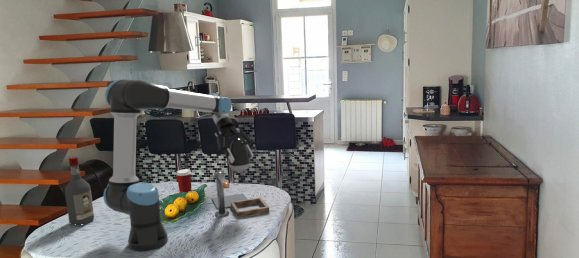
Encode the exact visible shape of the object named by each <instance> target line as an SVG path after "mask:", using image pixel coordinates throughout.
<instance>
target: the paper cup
mask: <svg viewBox="0 0 579 258" xmlns="http://www.w3.org/2000/svg"><path fill="white" fill-rule="evenodd" d="M175 175H176V179H177V185H178V191H179V194H180V193H182V192H188V191H191V192H192V171H191V169H187V168H185V169H180V170H177V171H176V174H175Z"/></svg>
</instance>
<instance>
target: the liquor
mask: <svg viewBox="0 0 579 258" xmlns="http://www.w3.org/2000/svg"><path fill="white" fill-rule="evenodd" d="M68 162H69V168H70V176H71V178H70V181H69V182H68V183H67V185H66V186H65V188H64V196H65V202H66V209H67V216H68V223H69V224H70V223H71V224H70V225H72V224H76V225H75V226H77V225H80V226H82V225H81V224H85V225H87V224H89V223H92V222H94V219H95V212H94V206H93V205H94V204H93V197H92V191H91V185H90V183H88V182H87V181H86V180H84V179H83V178H82V176H81V173H80V166H79V164H80V163H79V158H78V156H74V157H73V156H72V157H69V158H68ZM91 221H92V222H91ZM88 222H89V223H88ZM86 223H87V224H86Z"/></svg>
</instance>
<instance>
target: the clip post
mask: <svg viewBox="0 0 579 258" xmlns="http://www.w3.org/2000/svg"><path fill="white" fill-rule="evenodd" d="M215 183H216V185H215V186H216V192H217V193H216V195H217V196H216V197H218V210H217V211H215V212H214V215H215V217H217V216H218V218H222V217H227V216H229V215H230V211H229V210H227V209H226V208H225V201H224V196H225V192H224V191H225V190H224V189H225V188H223V185H222V183H221V182H220V180H219V179H218V177H215Z"/></svg>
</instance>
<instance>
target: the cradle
mask: <svg viewBox="0 0 579 258" xmlns="http://www.w3.org/2000/svg"><path fill="white" fill-rule="evenodd" d="M257 204H258V205H260V206H261V207H257V208H251V209H245V210H239V207H247V206H251V205H253V206H254V205H257ZM230 208H231V209H232V211H233V213H234V214H235V216H236V218H237V219H238V218H244V217H251V216H257V215H262V214H269V213H270V207H269V206H268V204H267V203H266V202H265V200H263V198H262V197H254V198H249V199H248V198H247V200H241V201H235V202H231V207H230Z"/></svg>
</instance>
